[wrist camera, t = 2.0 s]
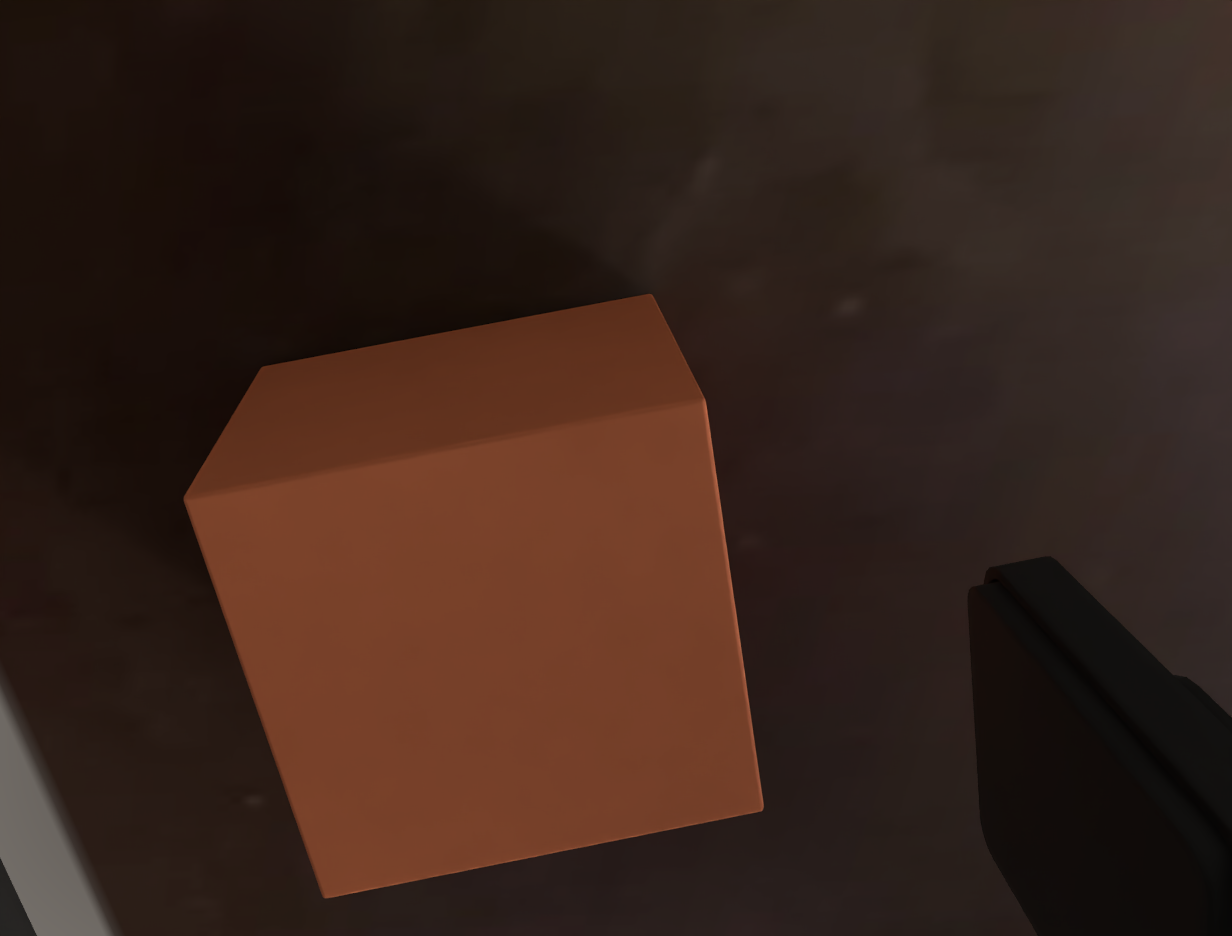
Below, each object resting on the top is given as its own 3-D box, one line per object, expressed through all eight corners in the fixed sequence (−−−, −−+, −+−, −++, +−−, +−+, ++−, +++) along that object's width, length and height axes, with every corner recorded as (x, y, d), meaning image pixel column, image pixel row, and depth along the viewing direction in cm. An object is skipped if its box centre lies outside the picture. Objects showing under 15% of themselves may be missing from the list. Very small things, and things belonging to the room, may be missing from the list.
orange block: (259, 365, 14) (180, 496, 11) (652, 291, 15) (706, 396, 11) (360, 695, 16) (322, 901, 13) (704, 628, 17) (764, 813, 13)
